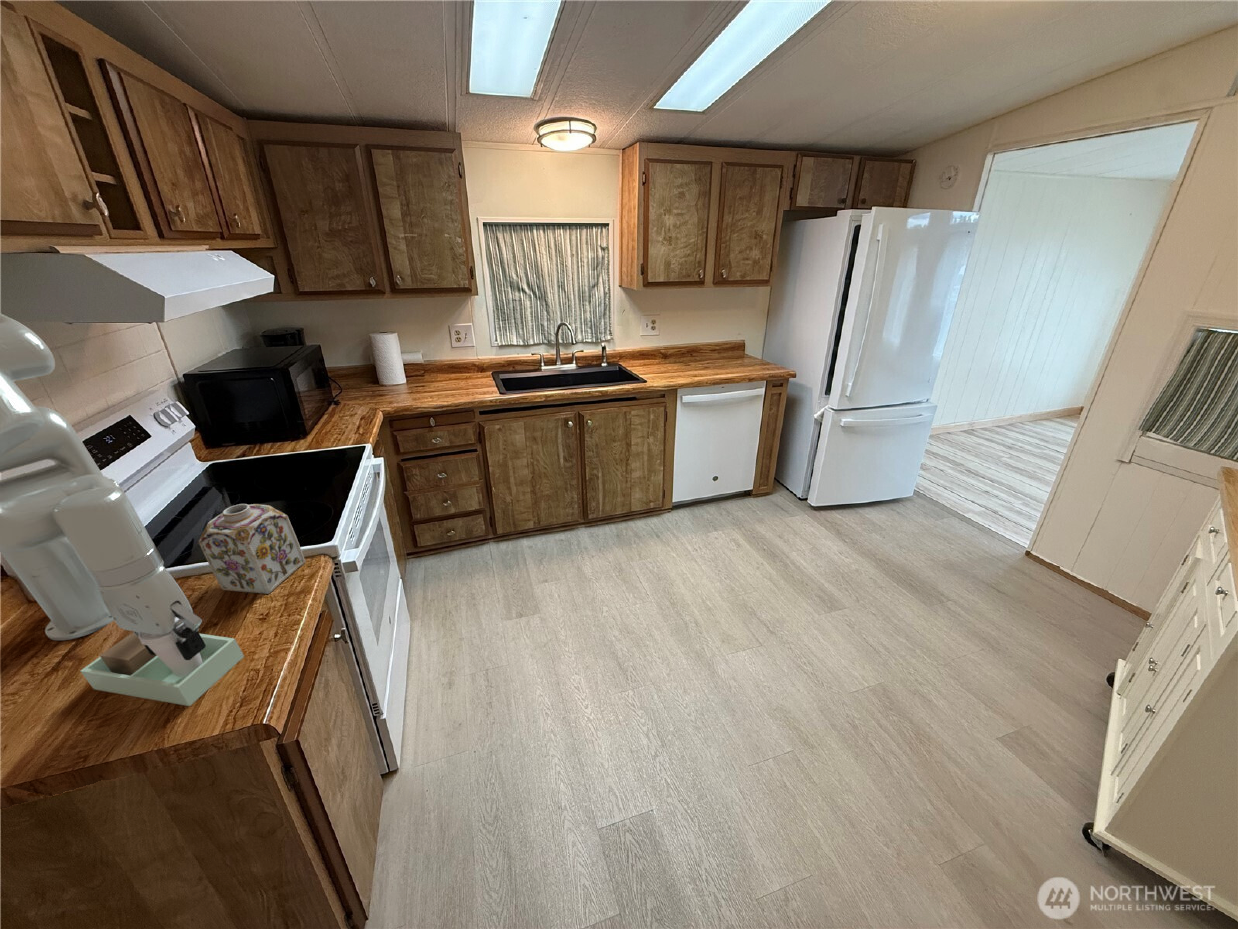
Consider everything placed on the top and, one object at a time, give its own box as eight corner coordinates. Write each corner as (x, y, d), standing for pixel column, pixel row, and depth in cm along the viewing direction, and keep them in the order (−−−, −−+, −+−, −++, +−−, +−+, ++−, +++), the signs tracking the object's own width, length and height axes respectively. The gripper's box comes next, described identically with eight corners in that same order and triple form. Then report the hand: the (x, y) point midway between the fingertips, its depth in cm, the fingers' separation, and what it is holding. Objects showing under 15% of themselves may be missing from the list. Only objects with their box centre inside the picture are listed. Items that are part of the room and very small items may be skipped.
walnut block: (117, 680, 83) (99, 655, 80) (153, 653, 88) (137, 629, 85) (145, 685, 82) (128, 660, 79) (179, 657, 87) (165, 633, 84)
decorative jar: (220, 592, 104) (185, 522, 96) (263, 559, 114) (234, 493, 106) (270, 595, 102) (238, 525, 94) (308, 562, 112) (282, 496, 105)
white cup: (221, 652, 85) (187, 591, 79) (193, 682, 79) (154, 619, 73) (184, 653, 85) (148, 592, 79) (154, 684, 79) (112, 621, 73)
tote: (95, 691, 81) (80, 670, 79) (157, 645, 90) (144, 625, 88) (191, 708, 78) (177, 687, 76) (245, 658, 87) (234, 638, 85)
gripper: (53, 576, 71) (113, 662, 79) (147, 588, 68) (200, 676, 76) (109, 546, 77) (160, 628, 85) (198, 555, 74) (241, 640, 82)
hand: (178, 650), depth 80 cm, fingers closed on white cup, 6 cm apart
